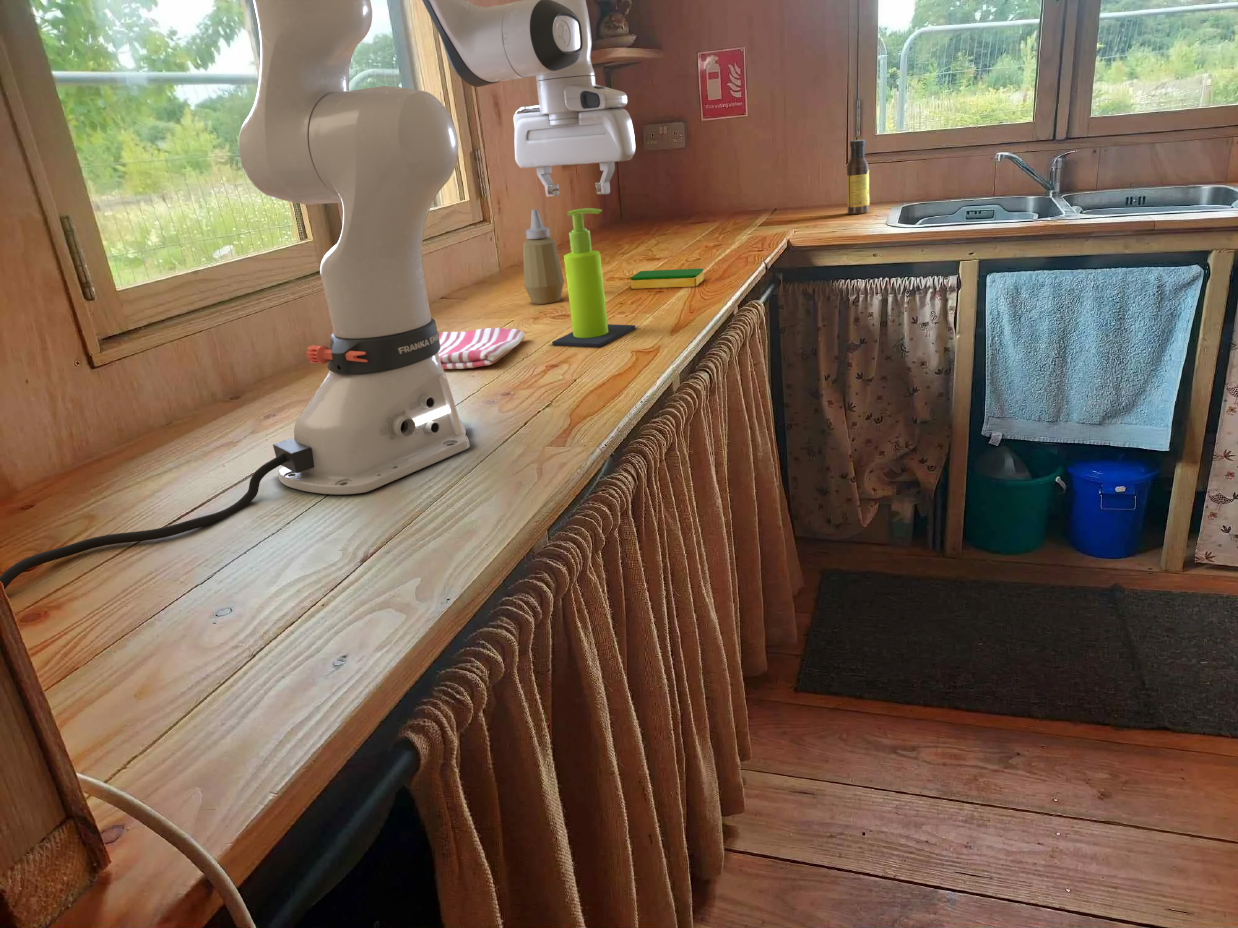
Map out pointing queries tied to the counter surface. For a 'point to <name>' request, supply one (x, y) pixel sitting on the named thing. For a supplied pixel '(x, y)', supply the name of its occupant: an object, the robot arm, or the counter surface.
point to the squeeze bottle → (541, 264)
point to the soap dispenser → (585, 280)
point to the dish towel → (476, 347)
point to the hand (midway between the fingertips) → (577, 195)
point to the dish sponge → (667, 278)
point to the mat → (599, 341)
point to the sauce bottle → (857, 179)
